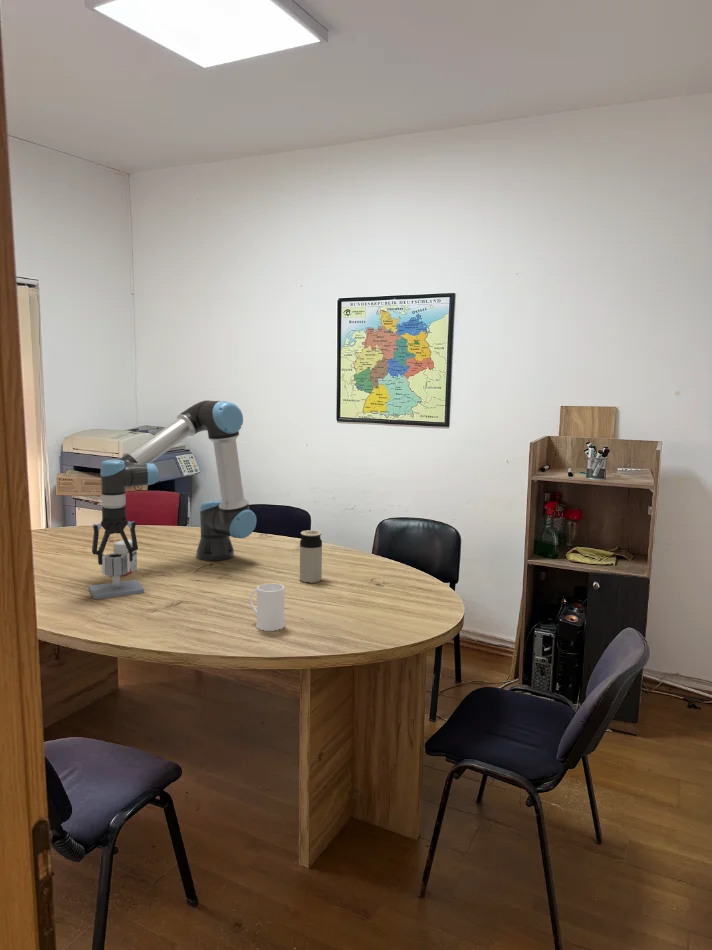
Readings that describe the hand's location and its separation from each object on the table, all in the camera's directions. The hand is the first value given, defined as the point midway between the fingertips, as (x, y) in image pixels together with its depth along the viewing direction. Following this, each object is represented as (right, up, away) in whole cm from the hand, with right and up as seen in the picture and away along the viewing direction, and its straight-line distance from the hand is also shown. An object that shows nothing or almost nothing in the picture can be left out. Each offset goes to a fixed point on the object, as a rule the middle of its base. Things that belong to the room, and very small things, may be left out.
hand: (115, 572), depth 224 cm
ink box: (-4, -4, +23) cm, 23 cm away
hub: (0, 0, 0) cm, 0 cm away
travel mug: (+65, -6, +18) cm, 68 cm away
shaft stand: (0, -7, +1) cm, 7 cm away
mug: (+55, -12, -27) cm, 63 cm away
